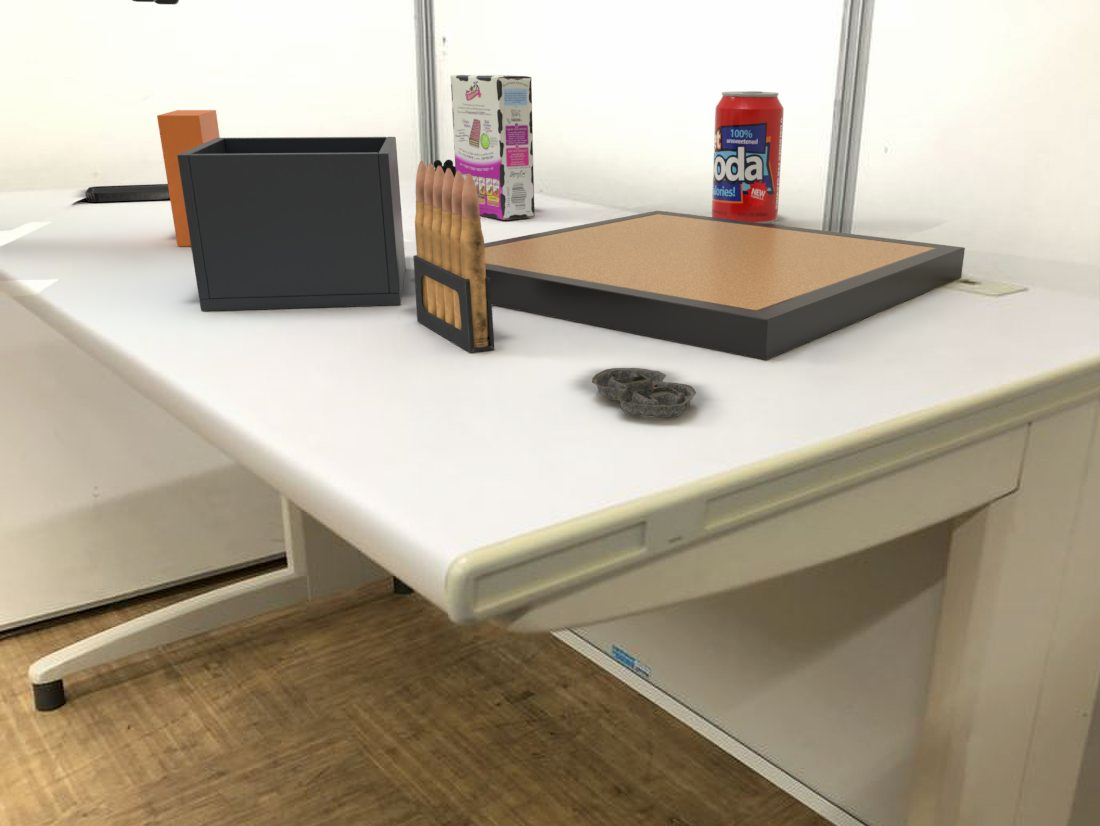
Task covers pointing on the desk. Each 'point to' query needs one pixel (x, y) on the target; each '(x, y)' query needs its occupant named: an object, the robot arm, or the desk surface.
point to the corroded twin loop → (644, 391)
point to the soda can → (747, 156)
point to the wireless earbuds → (445, 166)
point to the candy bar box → (495, 141)
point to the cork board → (713, 278)
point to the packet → (178, 137)
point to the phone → (127, 193)
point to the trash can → (294, 222)
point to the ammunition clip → (451, 260)
